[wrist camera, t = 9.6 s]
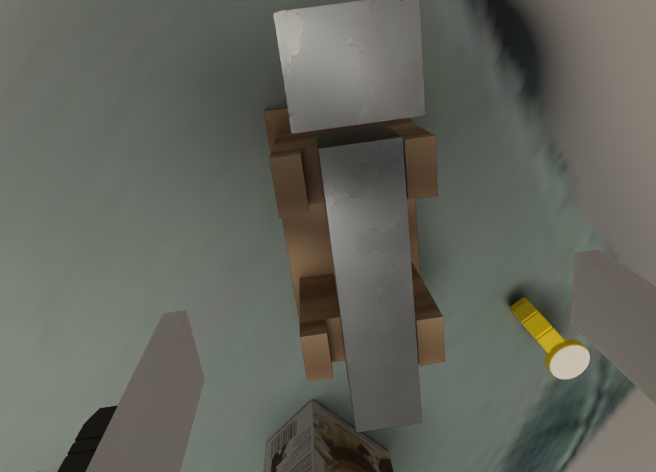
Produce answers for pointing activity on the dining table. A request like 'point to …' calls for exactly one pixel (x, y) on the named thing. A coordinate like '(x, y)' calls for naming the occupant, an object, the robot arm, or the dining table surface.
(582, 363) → the watch
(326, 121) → the grey t-shaped block
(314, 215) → the cradle rack
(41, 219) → the dining table surface
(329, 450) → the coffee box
